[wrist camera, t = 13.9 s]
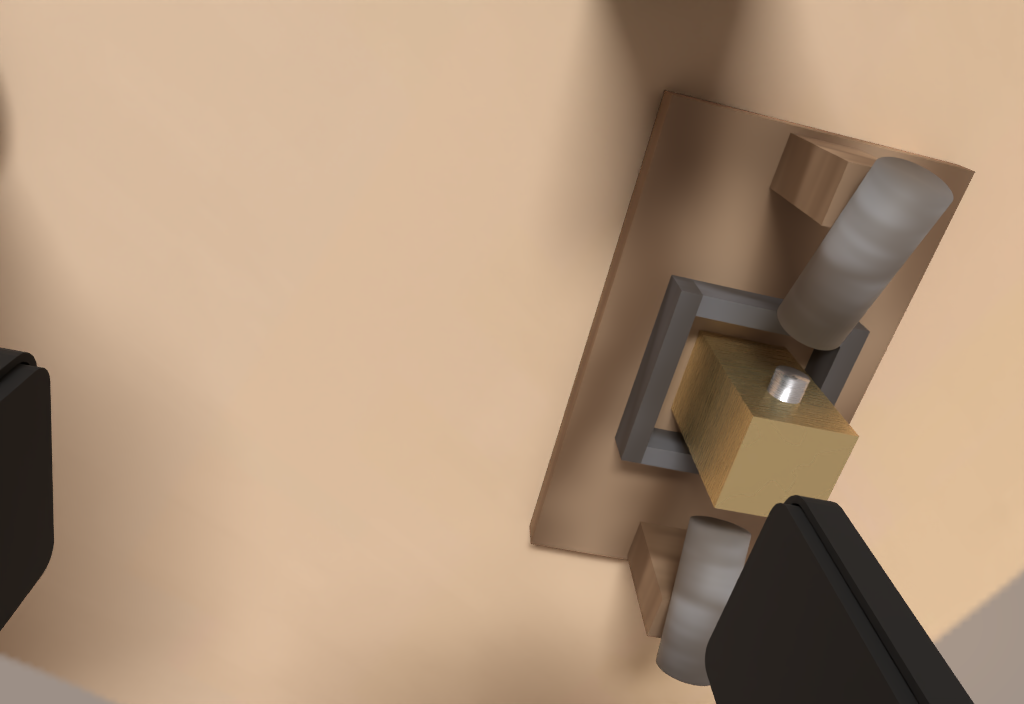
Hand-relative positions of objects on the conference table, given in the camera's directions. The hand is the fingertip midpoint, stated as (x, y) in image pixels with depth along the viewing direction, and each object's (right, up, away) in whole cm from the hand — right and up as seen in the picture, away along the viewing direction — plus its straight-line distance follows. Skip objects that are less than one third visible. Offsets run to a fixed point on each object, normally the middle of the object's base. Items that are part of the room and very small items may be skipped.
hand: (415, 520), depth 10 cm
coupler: (+12, +1, +28) cm, 30 cm away
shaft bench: (+12, +2, +29) cm, 31 cm away
